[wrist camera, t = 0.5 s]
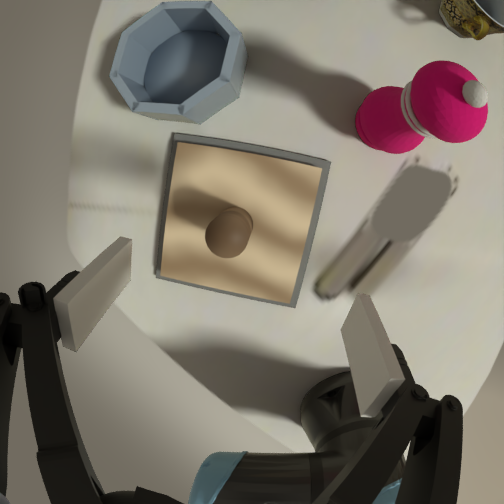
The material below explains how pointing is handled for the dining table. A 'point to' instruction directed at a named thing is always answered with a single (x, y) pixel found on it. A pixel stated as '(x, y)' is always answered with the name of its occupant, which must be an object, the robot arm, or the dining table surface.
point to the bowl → (180, 62)
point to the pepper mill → (424, 109)
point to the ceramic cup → (473, 17)
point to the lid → (238, 220)
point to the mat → (259, 151)
